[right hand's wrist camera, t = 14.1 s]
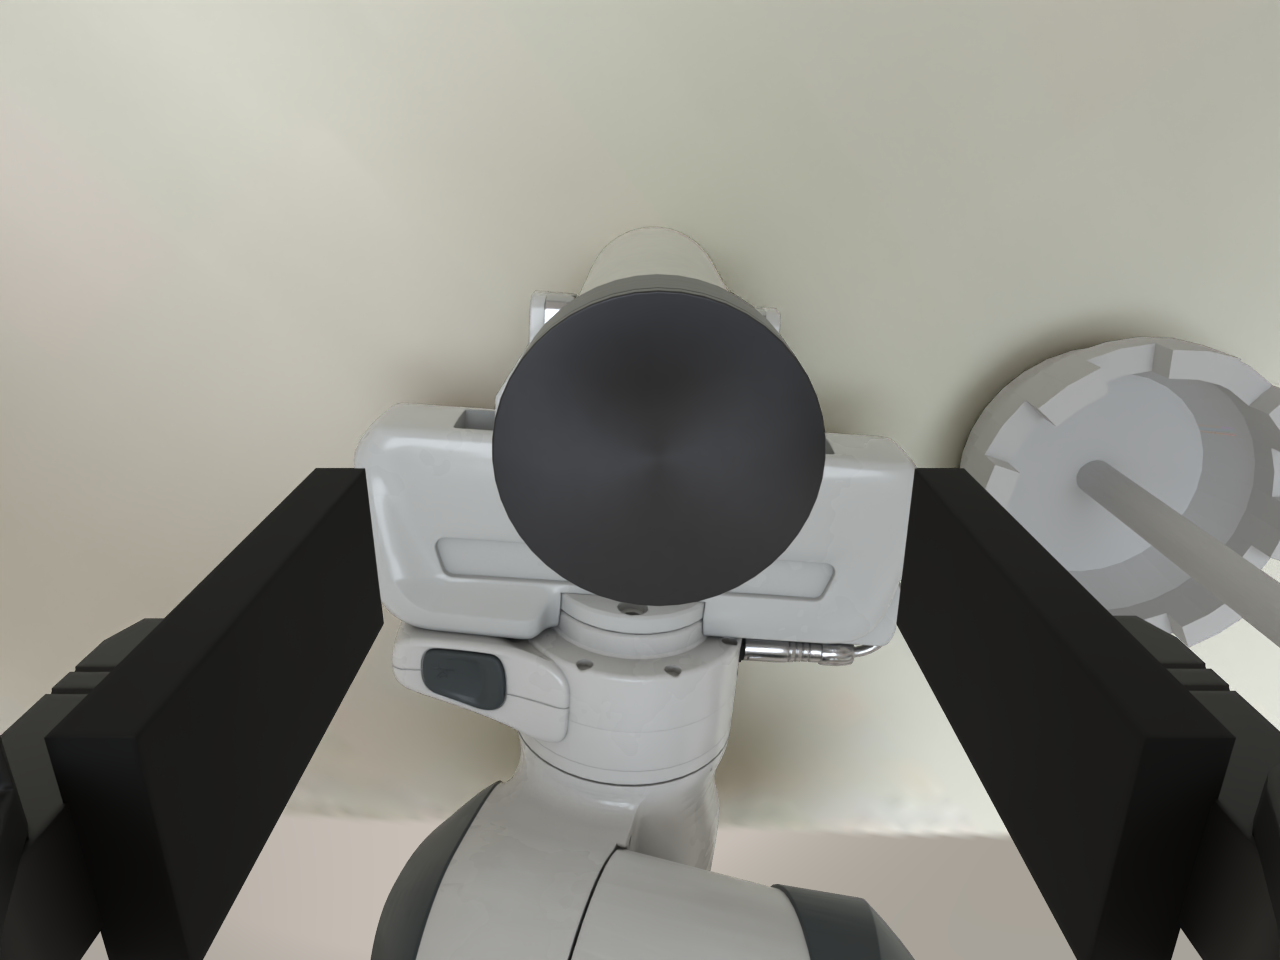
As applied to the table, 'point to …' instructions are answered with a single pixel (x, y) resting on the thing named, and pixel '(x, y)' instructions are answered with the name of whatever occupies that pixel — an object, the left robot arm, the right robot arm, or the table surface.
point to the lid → (658, 442)
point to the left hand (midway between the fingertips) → (654, 301)
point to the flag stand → (1145, 479)
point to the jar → (651, 258)
